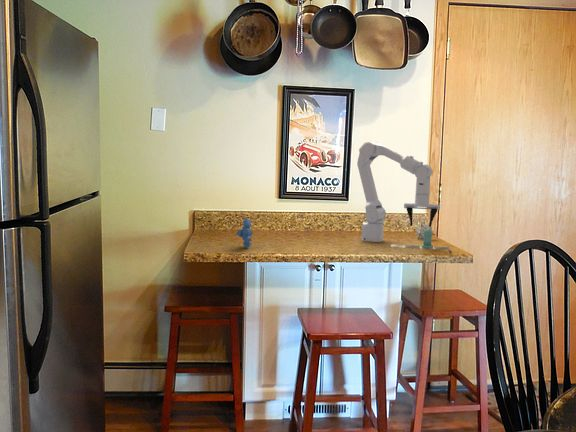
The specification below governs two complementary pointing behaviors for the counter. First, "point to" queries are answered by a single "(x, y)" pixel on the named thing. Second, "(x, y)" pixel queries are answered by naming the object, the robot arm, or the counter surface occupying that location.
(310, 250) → the counter surface
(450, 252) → the board
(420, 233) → the grey spiky ball
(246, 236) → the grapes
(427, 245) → the pawn
